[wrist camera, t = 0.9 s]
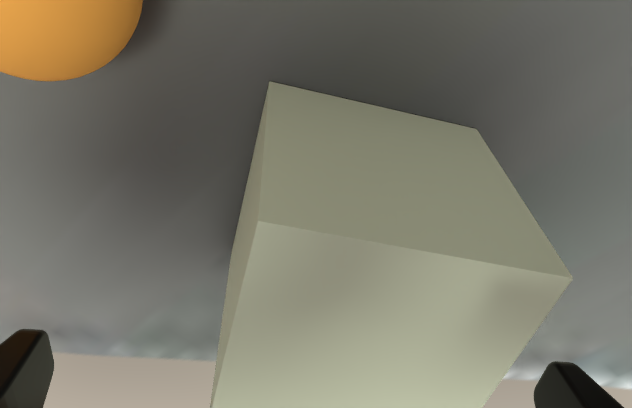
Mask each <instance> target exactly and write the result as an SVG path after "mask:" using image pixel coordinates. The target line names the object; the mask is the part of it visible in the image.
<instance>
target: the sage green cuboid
mask: <svg viewBox="0 0 632 408" xmlns="http://www.w3.org/2000/svg"><path fill="white" fill-rule="evenodd" d="M572 279H573V277H572V276H571V274H570V273H569V271H568V270H567V268H566V266H565V265H564V263H563V262H562V260H561V259H560V257H559V256H558V254H557V253H556V251H555V249H554V248H553V246H552V245H551V243H550V242H549V240H548V239H547V237H546V236H545V234H544V232H543V231H542V229H541V228H540V226H539V225H538V223H537V222H536V220H535V219H534V217H533V215H532V214H531V212H530V211H529V209H528V208H527V206H526V205H525V203H524V202H523V200H522V198H521V197H520V195H519V194H518V192H517V191H516V189H515V188H514V186H513V185H512V183H511V181H510V180H509V178H508V177H507V175H506V174H505V172H504V171H503V169H502V168H501V166H500V164H499V163H498V161H497V160H496V158H495V157H494V155H493V154H492V152H491V151H490V149H489V147H488V146H487V144H486V143H485V141H484V140H483V138H482V137H481V135H480V134H479V132H478V130H477V129H474V128H470V127H466V126H461V125H457V124H453V123H448V122H444V121H440V120H435V119H431V118H427V117H422V116H418V115H414V114H409V113H405V112H401V111H396V110H392V109H388V108H383V107H379V106H375V105H370V104H366V103H362V102H357V101H353V100H349V99H344V98H340V97H335V96H331V95H327V94H322V93H318V92H314V91H309V90H305V89H301V88H296V87H292V86H288V85H283V84H279V83H275V82H270V81H269V85H268V90H267V94H266V99H265V103H264V108H263V112H262V117H261V121H260V126H259V131H258V135H257V140H256V144H255V149H254V153H253V158H252V162H251V167H250V171H249V176H248V180H247V185H246V189H245V194H244V198H243V203H242V207H241V212H240V216H239V221H238V225H237V230H236V234H235V239H234V244H233V248H232V253H231V260H230V267H229V274H228V281H227V289H226V296H225V303H224V310H223V317H222V325H221V332H220V339H219V346H218V353H217V361H216V368H215V375H214V382H213V389H212V397H211V404H210V408H482V407H483V406H484V404H485V403H486V401H487V400H488V398H489V397H490V395H491V394H492V393H493V391H494V390H495V389H496V387H497V386H498V384H499V383H500V381H501V380H502V379H503V377H504V376H505V374H506V373H507V372H508V370H509V369H510V367H511V366H512V364H513V363H514V362H515V360H516V359H517V357H518V356H519V354H520V353H521V352H522V350H523V349H524V347H525V346H526V345H527V343H528V342H529V340H530V339H531V337H532V336H533V335H534V333H535V332H536V330H537V329H538V328H539V326H540V325H541V323H542V322H543V320H544V319H545V318H546V316H547V315H548V313H549V312H550V311H551V309H552V308H553V306H554V305H555V303H556V302H557V301H558V299H559V298H560V296H561V295H562V294H563V292H564V291H565V289H566V288H567V286H568V285H569V284H570V282H571V281H572Z"/></svg>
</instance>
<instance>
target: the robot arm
mask: <svg viewBox="0 0 632 408" xmlns="http://www.w3.org/2000/svg"><path fill="white" fill-rule="evenodd" d="M53 371H54V359H53V355H52V350H51V346H50V341H49V337H48V334H47V333H46V332H45V331H44V330H34V329H21V330H19V331H17V332H15V333H14V334H13V335H11V336H10V337H9V338H8V339H6V340H5V341H4V342H3V343H1V344H0V408H43V405H44V401H45V399H46V395H47V392H48V389H49V385H50V382H51V379H52V375H53ZM534 402H535V407H536V408H624V407H623V406H621V404H619V403H618V402H617V401H616V400H615V399H614V398H613V397H612V396H611V395H609V394H608V393H607V392H606V391H605V390H604V389H603V388H602V387H601V386H599V385H598V384H597V383H596V382H595V381H594V380H593V379H592V378H591V377H589V376H588V375H587V374H586V373H585V372H584V371H583V370H582V369H581V368H580V367H578V366H577V365H575V364H574V363H570V362H556V361H555V362H551V363H550V364H549V365H548V366H547V368H546V370H545V371H544V373H543V375H542V377H541V378H540V380H539V382H538V384H537V385H536V387H535V390H534Z"/></svg>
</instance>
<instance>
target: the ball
mask: <svg viewBox="0 0 632 408" xmlns="http://www.w3.org/2000/svg"><path fill="white" fill-rule="evenodd" d="M142 3H143V0H0V71H1V72H3V73H6V74H9V75H12V76H16V77H20V78H24V79H30V80H36V81H60V80H69V79H73V78H78V77H81V76H84V75H86V74H89V73H91V72H94V71H96V70H97V69H99V68H101V67H103V66H105V65H106V64H107V63H108V62H110V61H111V60H112V59H113V58H115V57H116V56H117V55H118V54H119V53H120V52H121V51H122V49H123V48H124V47H125V46H126V44H127V43H128V41H129V40H130V38H131V37H132V35H133V33H134V31H135V28H136V26H137V24H138V21H139V18H140V14H141V10H142Z"/></svg>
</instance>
